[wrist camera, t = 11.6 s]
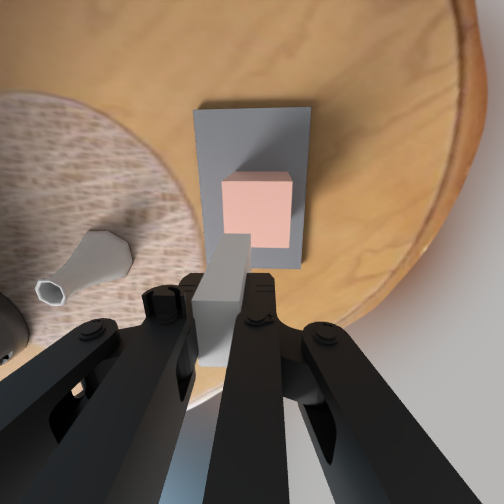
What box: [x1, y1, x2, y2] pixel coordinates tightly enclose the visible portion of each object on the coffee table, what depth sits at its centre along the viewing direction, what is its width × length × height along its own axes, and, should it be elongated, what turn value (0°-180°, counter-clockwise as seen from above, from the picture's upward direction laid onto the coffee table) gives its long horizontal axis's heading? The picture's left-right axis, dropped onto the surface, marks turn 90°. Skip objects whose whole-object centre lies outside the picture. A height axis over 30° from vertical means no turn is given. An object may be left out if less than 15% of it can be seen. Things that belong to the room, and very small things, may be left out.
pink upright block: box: [222, 171, 293, 248], centre depth 26 cm, size 6×6×8 cm
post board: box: [193, 107, 311, 269], centre depth 28 cm, size 12×18×6 cm, turn 1°
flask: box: [35, 231, 133, 306], centre depth 31 cm, size 7×7×10 cm
